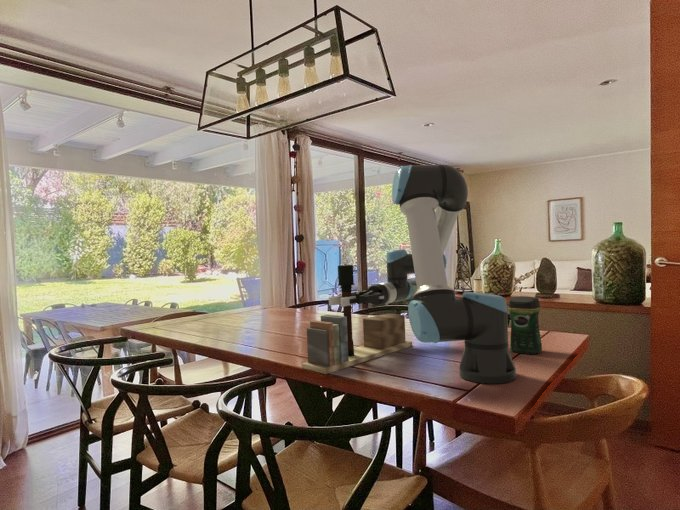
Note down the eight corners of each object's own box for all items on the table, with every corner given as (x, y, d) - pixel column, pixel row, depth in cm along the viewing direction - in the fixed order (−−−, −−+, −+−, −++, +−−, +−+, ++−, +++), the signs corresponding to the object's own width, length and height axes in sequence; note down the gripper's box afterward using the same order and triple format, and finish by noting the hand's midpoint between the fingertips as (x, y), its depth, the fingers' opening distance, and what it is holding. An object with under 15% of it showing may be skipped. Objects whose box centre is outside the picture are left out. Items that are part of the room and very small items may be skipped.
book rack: (388, 341, 171) (387, 302, 171) (412, 345, 164) (410, 303, 163) (301, 368, 140) (299, 319, 140) (325, 374, 132) (323, 322, 132)
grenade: (360, 353, 149) (356, 264, 148) (353, 357, 144) (349, 265, 143) (345, 352, 151) (341, 265, 151) (337, 356, 146) (333, 266, 146)
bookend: (388, 339, 169) (387, 313, 169) (405, 342, 163) (404, 315, 163) (364, 346, 159) (362, 318, 159) (381, 349, 153) (380, 321, 153)
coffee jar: (544, 350, 149) (542, 295, 148) (537, 356, 142) (535, 298, 142) (515, 347, 155) (513, 294, 154) (507, 352, 149) (505, 297, 148)
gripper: (401, 306, 154) (356, 315, 137) (363, 302, 166) (317, 311, 150) (400, 284, 153) (355, 291, 137) (362, 282, 166) (316, 289, 149)
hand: (335, 301), depth 143 cm, fingers open, 5 cm apart
